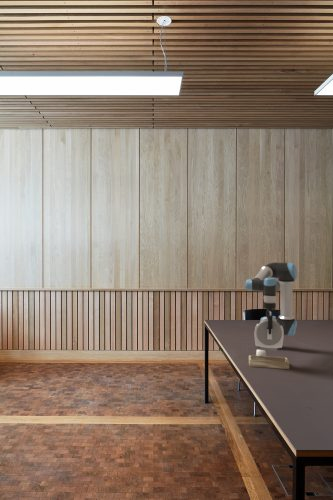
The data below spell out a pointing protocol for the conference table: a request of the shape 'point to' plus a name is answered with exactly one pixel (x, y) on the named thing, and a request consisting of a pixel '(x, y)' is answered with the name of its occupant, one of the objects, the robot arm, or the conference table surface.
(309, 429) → the conference table surface
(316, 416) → the conference table surface
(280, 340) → the alarm clock
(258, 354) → the white rounded cylinder
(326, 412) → the conference table surface
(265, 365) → the tray
